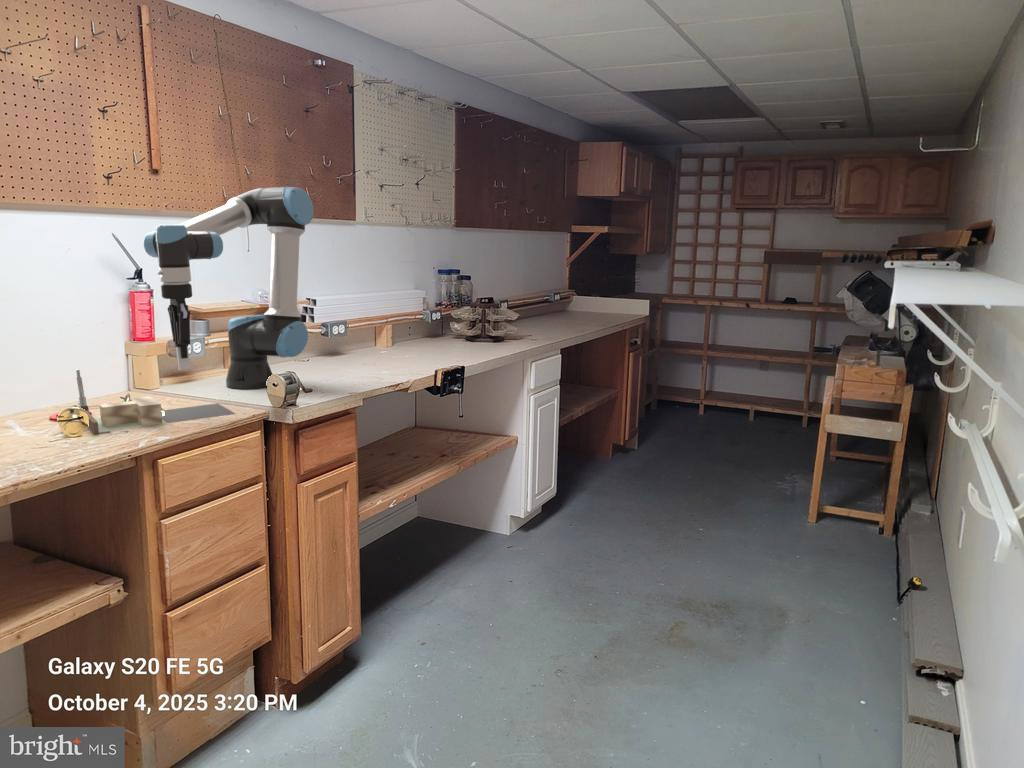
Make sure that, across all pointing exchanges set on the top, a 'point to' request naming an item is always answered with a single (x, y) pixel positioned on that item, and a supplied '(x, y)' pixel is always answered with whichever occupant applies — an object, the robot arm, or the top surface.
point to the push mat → (165, 417)
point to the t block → (131, 412)
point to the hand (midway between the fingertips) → (184, 369)
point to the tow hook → (81, 399)
